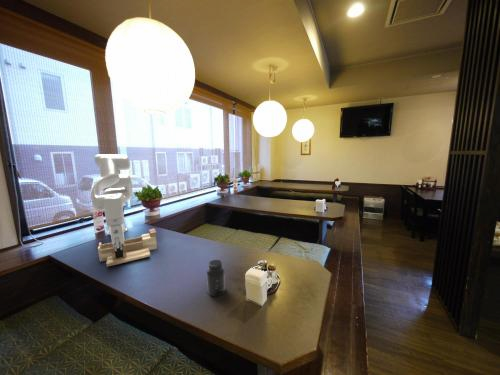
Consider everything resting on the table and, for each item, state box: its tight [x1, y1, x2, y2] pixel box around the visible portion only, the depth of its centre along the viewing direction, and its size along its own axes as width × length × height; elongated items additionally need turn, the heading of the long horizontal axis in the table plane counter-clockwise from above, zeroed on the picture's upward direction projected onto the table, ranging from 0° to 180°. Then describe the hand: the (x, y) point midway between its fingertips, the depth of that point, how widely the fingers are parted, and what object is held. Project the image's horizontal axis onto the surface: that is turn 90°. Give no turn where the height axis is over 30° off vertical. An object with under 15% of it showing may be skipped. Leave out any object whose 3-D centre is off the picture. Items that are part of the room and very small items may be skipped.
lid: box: [105, 244, 151, 268], centre depth 104 cm, size 9×19×7 cm, turn 122°
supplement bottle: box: [206, 259, 226, 297], centre depth 79 cm, size 7×7×12 cm
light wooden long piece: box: [97, 233, 158, 263], centre depth 114 cm, size 9×27×7 cm, turn 122°
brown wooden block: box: [148, 228, 157, 237], centre depth 120 cm, size 7×3×2 cm, turn 32°
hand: (119, 255), depth 103 cm, fingers closed on lid, 3 cm apart
